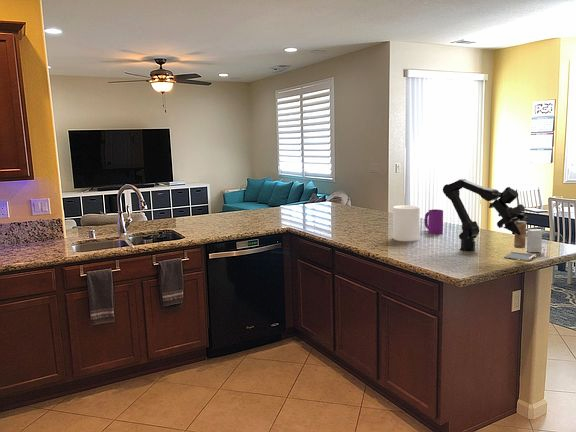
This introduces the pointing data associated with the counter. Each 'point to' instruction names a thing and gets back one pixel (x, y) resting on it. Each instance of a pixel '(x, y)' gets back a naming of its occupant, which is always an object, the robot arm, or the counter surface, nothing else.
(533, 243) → the skincare box
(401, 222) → the canister
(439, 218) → the mug
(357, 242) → the counter surface
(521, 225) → the brown cylinder
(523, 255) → the slate mat
